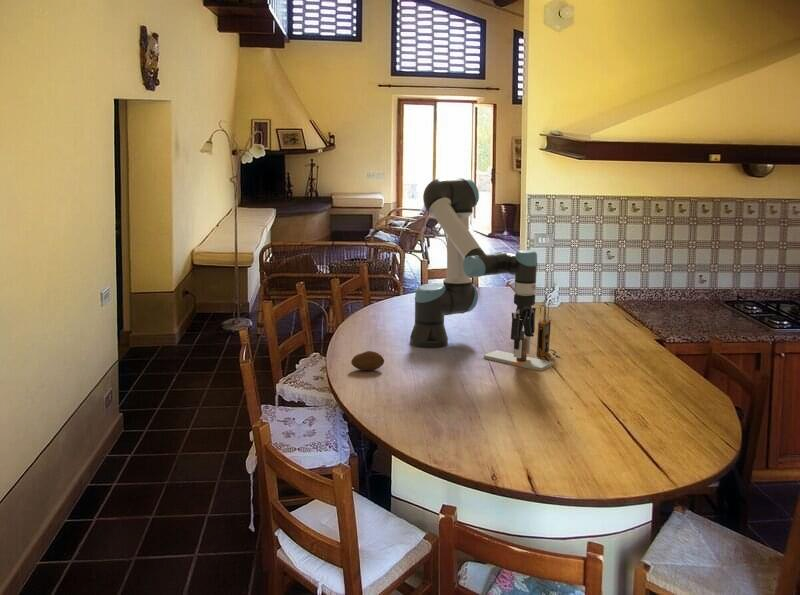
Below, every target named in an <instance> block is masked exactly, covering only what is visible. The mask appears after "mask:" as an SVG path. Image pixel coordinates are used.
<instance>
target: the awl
mask: <svg viewBox="0 0 800 595" xmlns="http://www.w3.org/2000/svg"><path fill="white" fill-rule="evenodd" d="M524 332H525V331H524V330H522V335H521V340H522V349H521V358H517V359H516V360H517V361H520V362H525V361H526V358H527V357H528V356H527V355H528V354H527V339H526V338H524V336H525V333H524Z"/></svg>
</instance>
